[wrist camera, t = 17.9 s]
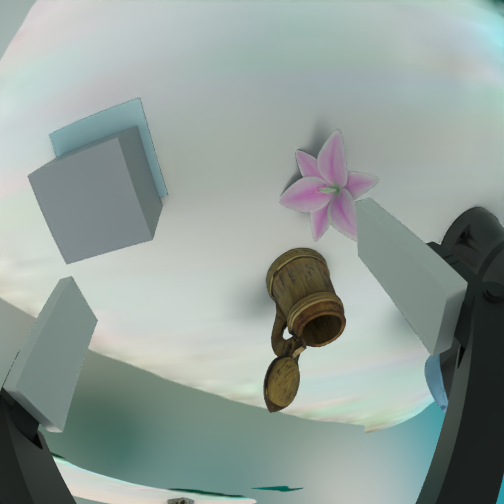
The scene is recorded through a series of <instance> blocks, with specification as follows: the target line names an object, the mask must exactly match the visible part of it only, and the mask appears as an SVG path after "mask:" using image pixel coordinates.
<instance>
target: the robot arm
mask: <svg viewBox="0 0 504 504" xmlns="http://www.w3.org/2000/svg"><path fill="white" fill-rule="evenodd" d="M355 211H356V224H357V240H358V256H359V257H360V259H361V260H362V261H363V262H364V264H365V265H366V266H367V267H368V269H369V270H370V271H371V273H372V274H373V275H374V276H375V278H376V279H377V280H378V282H379V283H380V284H381V286H382V287H383V288H384V290H385V291H386V292H387V294H388V295H389V296H390V298H391V299H392V300H393V302H394V303H395V305H396V306H397V307H398V309H399V310H400V311H401V313H402V314H403V316H404V317H405V318H406V320H407V321H408V323H409V324H410V325H411V327H412V328H413V330H414V331H415V332H416V334H417V335H418V337H419V338H420V340H421V341H422V343H423V344H424V346H425V347H426V348H427V350H428V351H429V353H430V354H431V355H430V356H429V357H428V359H427V360H426V363H425V378H426V381H427V384H428V387H429V390H430V392H431V394H432V396H433V398H434V400H435V401H436V403H437V404H438V406H440V407H441V409H442V411H443V412H444V413H445V418H444V422H443V426H442V429H441V433H440V436H439V440H438V443H437V446H436V450H435V453H434V456H433V459H432V462H431V465H430V468H429V471H428V474H427V476H426V479H425V482H424V484H423V487H422V489H421V492H420V494H419V497H418V499H417V502H416V504H496V502H497V498H498V494H499V491H500V487H501V483H502V479H503V474H504V228H503V227H502V225H501V224H500V223H499V221H498V219H497V218H496V217H495V216H494V215H493V214H492V213H490V212H489V211H487V210H486V209H484V208H473V209H470V210H468V211H467V212H465V213H464V214H462V215H461V216H460V217H459V218H458V219H457V220H456V221H455V222H454V224H453V225H452V226H451V228H450V229H449V231H448V232H447V234H446V236H445V238H444V240H443V243H442V245H439V244H437V243H435V242H429V243H426V244H425V243H424V242H423V241H422V240H421V239H420V238H419V237H417V236H416V235H415V234H414V233H413V232H412V231H410V230H409V229H408V228H407V227H406V226H404V225H403V224H402V223H401V222H400V221H398V220H397V219H396V218H395V217H394V216H392V215H391V214H390V213H389V212H387V211H386V210H385V209H384V208H382V207H381V206H380V205H379V204H377V203H376V202H375V201H374V200H372V199H371V198H368V199H364V200H359V201H355ZM97 321H98V320H97V318H96V317H95V315H94V313H93V312H92V310H91V308H90V307H89V305H88V303H87V302H86V300H85V298H84V297H83V295H82V293H81V291H80V289H79V288H78V286H77V284H76V282H75V281H74V279H73V277H72V276H70V277H67V278H63V279H60V281H59V282H58V284H57V285H56V287H55V289H54V290H53V292H52V293H51V295H50V297H49V298H48V300H47V302H46V304H45V305H44V307H43V309H42V310H41V312H40V314H39V316H38V317H37V319H36V321H35V323H34V325H33V326H32V328H31V330H30V332H29V334H28V336H27V338H26V340H25V341H24V343H23V345H22V347H21V349H20V351H19V352H18V354H17V356H16V358H15V361H14V363H13V364H12V366H11V367H12V368H11V369H10V371H9V373H8V375H7V377H6V379H5V382H4V384H3V386H2V388H1V391H0V504H76V502H75V500H74V498H73V497H72V495H71V493H70V491H69V489H68V487H67V485H66V484H65V482H64V480H63V478H62V476H61V474H60V472H59V470H58V468H57V466H56V463H55V461H54V459H53V457H52V455H51V452H50V450H49V448H48V446H47V444H46V441H45V438H44V436H43V435H42V433H41V432H40V431H39V430H38V426H39V423H40V424H41V425H42V426H43V427H44V428H45V429H47V430H48V431H49V432H63V429H64V425H65V421H66V418H67V414H68V410H69V406H70V403H71V399H72V396H73V392H74V389H75V386H76V383H77V379H78V376H79V373H80V370H81V367H82V364H83V361H84V358H85V355H86V352H87V349H88V346H89V343H90V340H91V337H92V335H93V332H94V329H95V326H96V324H97Z"/></svg>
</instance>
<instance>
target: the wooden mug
mask: <svg viewBox="0 0 504 504" xmlns="http://www.w3.org/2000/svg"><path fill="white" fill-rule="evenodd" d="M266 283H267V288H268V292H269V295H270V296H271V298H272V299H273V300H274V302H275V303H276V311H277V312H276V318H275V322H274V326H273V330H272V336H271V344H272V348H273V351H274V353H275V354H276V355H277V358H275V359H274V360H273V361H272V362H271V364H270V365H269V367H268V370H267V372H266V375H265V379H264V400H265V403H266V405H267V409H268V410H269V412H276V411H279V410H282V409H284V408H285V407H287V406H288V405H289V404H290V403H292V401H293V400H294V398H295V396H296V394H297V391H298V387H299V382H300V373H299V367H298V359H299V356H300V353H301V352H302V351H304V350H305V349H306V345H307V346H311V347H321V346H325V345H327V344H329V343H331V342H333V341H334V340H336V339H337V338H338V337H339V336H340V335H341V334H342V333H343V331H344V328H345V325H346V319H345V316H344V307H343V304H342V301H341V299H340V298H339V297H338V296H337V295H336V293H335V290H334V288H333V285H332V282H331V279H330V272H329V269H328V267H327V264H326V261H325V259H324V258H323V257H322V255H320V254H319V253H318V252H316V251H314V250H311V249H305V248H299V249H293V250H290V251H288V252H286V253H284V254H283V255H281V256H280V257H279V258H278V259H277V260H276V261H275V262H274V263H273V264H272V266H271V268H270V269H269V271H268V274H267V278H266ZM287 326H288V331H289V334H291V335H293V336H292V337H291V338H289V339H287V340H285V339H283V333H284V330H285V329H286V327H287Z"/></svg>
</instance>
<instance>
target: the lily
mask: <svg viewBox="0 0 504 504" xmlns="http://www.w3.org/2000/svg"><path fill="white" fill-rule="evenodd" d="M296 159H297V163H298V166H299V169H300V172H301V174H302V176H303V178H301V179H299V180H298V181H296V182H295V183H294V184H292V185H291V186H290V187H289V188H288V189H287V190H286V191H285V192H284V193H283V194H282V195H281V197H280V201H279V202H280V204H281V205H283V206H285V207H287V208H290V209H293V210H296V211H300V212H308V213H310V212H311V213H310V221H311V230H312V235H313V239H314V241H315V242H316V241H318V240H319V239H320V238H321V237H322V235H323V234H324V233H325V231H326V230H327V229H328V227H329V226H330V224H331V225H332V226H333V227H334V228H335V229H337V230H338V231H339V232H341V233H342V234H344V235H345V236H347V237H348V238H350V239H352V240H354V241H356V242H358V240H357V224H356V211H355V203H354V200H355V199H357V198H358V197H360V196H361V195H363V194H364V193H366V192H367V191H368V190H370V189H371V188H372V187H373V186H374V185H375V184H376V183H377V182H378V180H379V179H378V178H377V177H374V176H371V175H368V174H364V173H360V172H354V171H347V164H346V158H345V150H344V143H343V137H342V134H341V131H340V130H339V129H337V130H335V131H334V132H333V133H332V134H331V135H330V137H329V138H328V139H327V141H326V142H325V144H324V145H323V147H322V149H321V150H320V152H319V154H318V158H317V159H316V158H314V157H313V156H311V155H309V154H307V153H305V152H303V151H300V150H297V151H296Z"/></svg>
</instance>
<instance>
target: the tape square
mask: <svg viewBox="0 0 504 504" xmlns="http://www.w3.org/2000/svg"><path fill="white" fill-rule="evenodd" d="M134 126H138V129H139V133H140V136H141V140H142V143H143V147H144V150H145V153H146V157H147V160H148V163H149V166H150V170H151V173H152V176H153V179H154V182H155V185H156V188H157V192H158V195H159V197H163V196H166V195H168V193H167V190H166V187H165V183H164V180H163V177H162V174H161V170H160V167H159V164H158V160H157V157H156V154H155V150H154V147H153V143H152V140H151V136H150V133H149V129H148V126H147V122H146V119H145V115H144V111H143V108H142V104H141V100H140V98H137V99H134V100H131V101H129V102H126V103H123V104H120V105H117V106H115V107H112V108H109V109H107V110H104V111H102V112H99V113H97V114H94V115H92V116H89V117H87V118H84V119H82V120H80V121H77V122H75V123H73V124H71V125H68V126H66V127H64V128H62V129H60V130H58V131H55V132H53V133H51V134H49V136H50V139H51V142H52V145H53V148H54V151H55V154H56V157H58V156H60V155H62V154H64V153H66V152H69V151H71V150H73V149H76V148H78V147H81V146H83V145H86V144H88V143H91V142H93V141H96V140H98V139H101V138H103V137H106V136H109V135H111V134H114V133H117V132H120V131H123V130H125V129H128V128H131V127H134Z"/></svg>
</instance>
